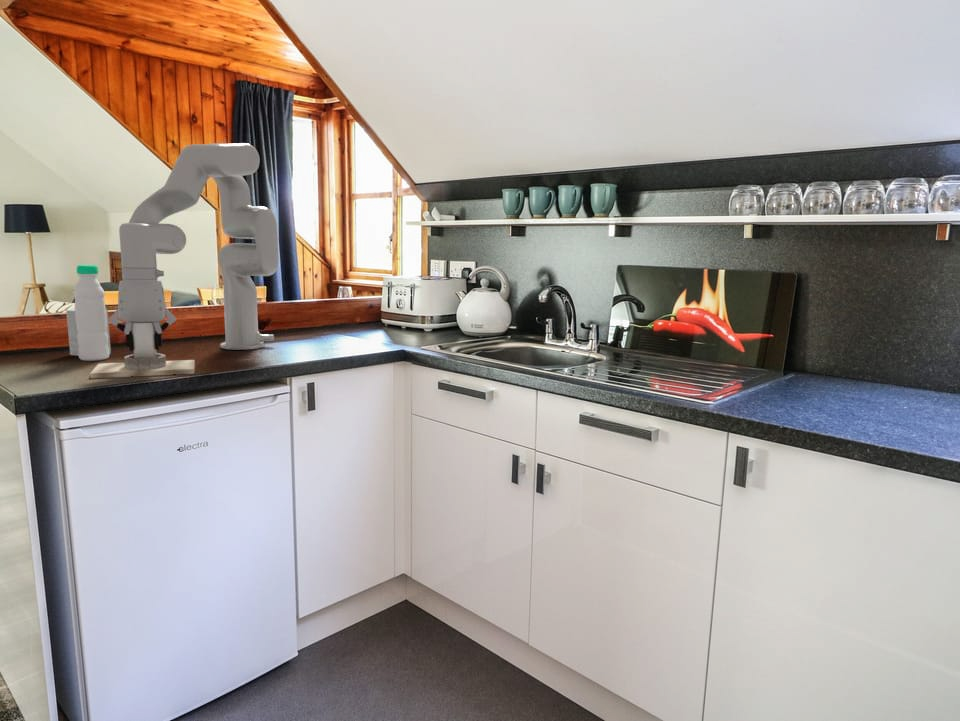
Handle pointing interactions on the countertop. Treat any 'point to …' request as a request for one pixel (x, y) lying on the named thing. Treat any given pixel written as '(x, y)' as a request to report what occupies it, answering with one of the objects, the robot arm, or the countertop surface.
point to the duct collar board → (143, 367)
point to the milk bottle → (90, 315)
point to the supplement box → (73, 332)
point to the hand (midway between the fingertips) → (144, 348)
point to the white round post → (144, 340)
